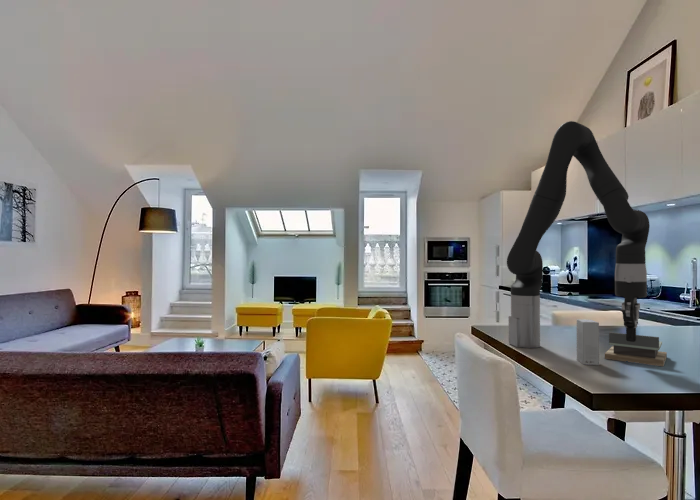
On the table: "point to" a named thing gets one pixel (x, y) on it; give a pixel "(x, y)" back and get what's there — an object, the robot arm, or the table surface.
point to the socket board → (636, 355)
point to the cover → (640, 342)
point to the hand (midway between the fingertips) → (631, 341)
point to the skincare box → (588, 342)
